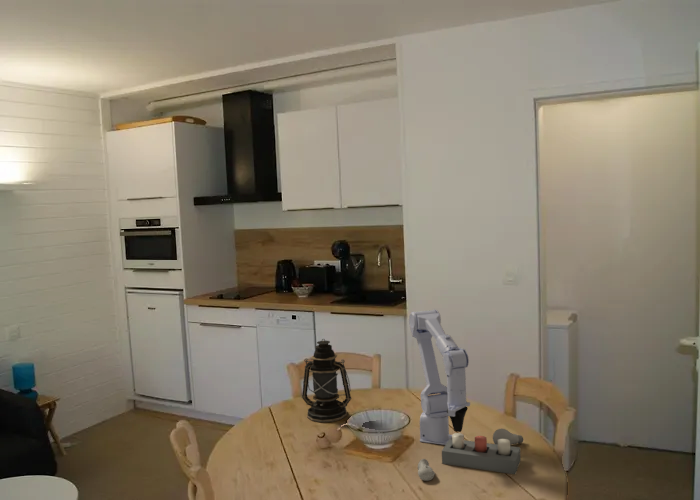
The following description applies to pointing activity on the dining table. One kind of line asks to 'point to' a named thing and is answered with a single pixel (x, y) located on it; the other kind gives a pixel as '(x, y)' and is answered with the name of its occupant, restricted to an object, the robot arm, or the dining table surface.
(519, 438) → the lightbulb
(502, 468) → the grey socket block
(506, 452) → the right plug
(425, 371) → the robot arm
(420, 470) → the smooth white sculpture
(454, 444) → the left plug
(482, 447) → the red plug
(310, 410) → the lantern
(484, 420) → the dining table surface
